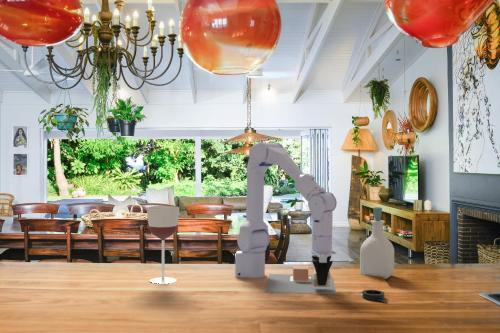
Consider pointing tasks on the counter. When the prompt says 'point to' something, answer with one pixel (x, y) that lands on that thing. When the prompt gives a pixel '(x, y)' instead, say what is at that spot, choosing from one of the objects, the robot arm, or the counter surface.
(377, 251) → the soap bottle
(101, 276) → the counter surface
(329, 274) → the top block
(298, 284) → the board
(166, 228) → the wineglass
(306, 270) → the base block
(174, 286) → the counter surface
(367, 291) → the duct tape
